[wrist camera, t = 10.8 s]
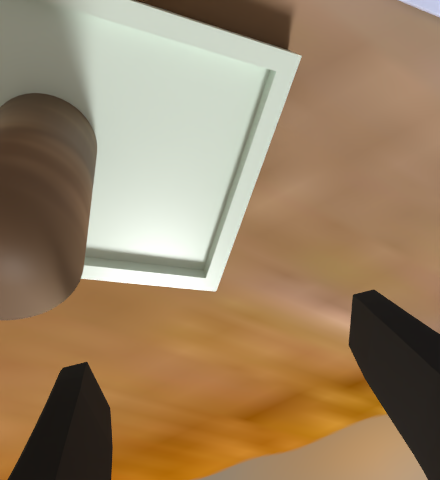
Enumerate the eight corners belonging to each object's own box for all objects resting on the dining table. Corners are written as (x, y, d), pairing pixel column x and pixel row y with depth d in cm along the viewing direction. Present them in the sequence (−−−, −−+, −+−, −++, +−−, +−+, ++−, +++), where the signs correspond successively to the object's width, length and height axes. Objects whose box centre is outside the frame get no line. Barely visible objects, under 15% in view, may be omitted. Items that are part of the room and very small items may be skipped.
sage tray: (288, 49, 17) (301, 56, 16) (210, 274, 23) (216, 291, 21) (-287, -138, 11) (-337, -152, 10) (-195, 229, 17) (-219, 249, 16)
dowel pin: (95, 97, 16) (80, 185, 9) (98, 190, 18) (87, 316, 11) (-19, 88, 15) (-129, 179, 8) (-2, 187, 17) (-78, 324, 10)
